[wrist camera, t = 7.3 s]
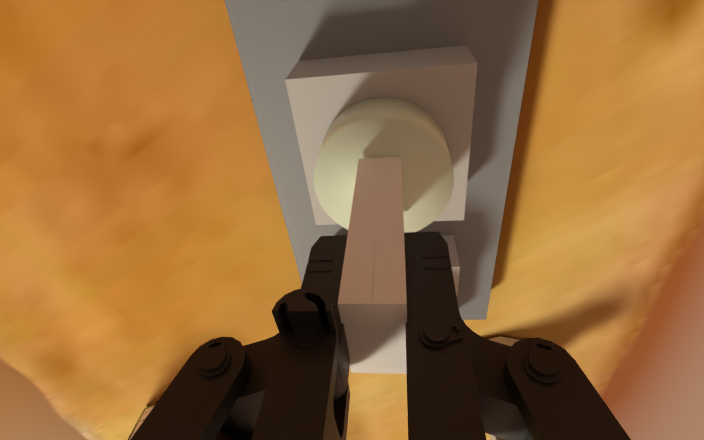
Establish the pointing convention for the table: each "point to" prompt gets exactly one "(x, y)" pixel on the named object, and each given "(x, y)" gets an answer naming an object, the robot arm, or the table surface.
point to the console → (400, 83)
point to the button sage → (386, 141)
